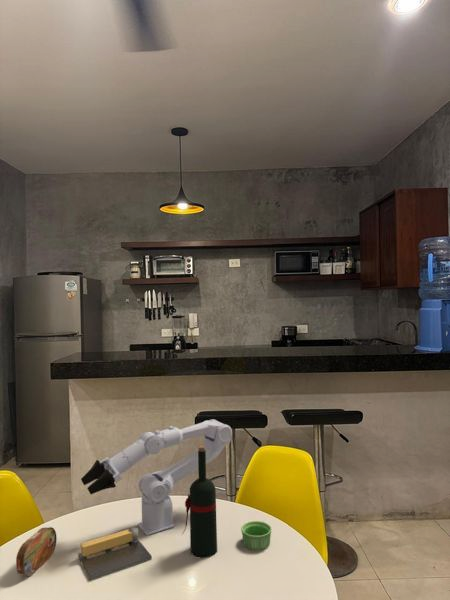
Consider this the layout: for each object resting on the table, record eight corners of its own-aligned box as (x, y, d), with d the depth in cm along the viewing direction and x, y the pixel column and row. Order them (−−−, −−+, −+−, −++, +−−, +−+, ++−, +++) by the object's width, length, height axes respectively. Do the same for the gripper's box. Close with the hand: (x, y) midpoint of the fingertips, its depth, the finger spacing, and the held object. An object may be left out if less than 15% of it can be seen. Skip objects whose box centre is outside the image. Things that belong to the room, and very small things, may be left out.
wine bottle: (185, 542, 132) (183, 442, 132) (219, 543, 131) (217, 442, 131) (179, 557, 124) (177, 450, 124) (215, 558, 123) (213, 451, 123)
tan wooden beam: (136, 534, 133) (135, 526, 133) (139, 538, 131) (139, 530, 131) (80, 551, 124) (80, 543, 124) (83, 556, 122) (83, 547, 122)
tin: (24, 582, 114) (24, 550, 114) (13, 581, 115) (13, 549, 115) (57, 550, 129) (57, 521, 129) (48, 549, 129) (47, 521, 129)
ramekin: (244, 533, 136) (243, 519, 136) (273, 536, 134) (272, 522, 134) (239, 549, 127) (238, 534, 127) (270, 552, 125) (269, 537, 126)
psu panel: (135, 538, 134) (135, 534, 134) (151, 559, 123) (151, 554, 123) (78, 556, 125) (78, 551, 125) (90, 580, 114) (90, 575, 114)
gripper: (113, 442, 142) (74, 467, 136) (128, 455, 130) (86, 484, 123) (122, 460, 144) (83, 486, 137) (138, 475, 131) (96, 504, 125)
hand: (85, 486), depth 130 cm, fingers open, 7 cm apart
